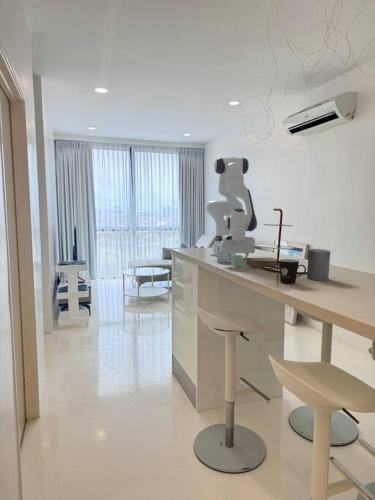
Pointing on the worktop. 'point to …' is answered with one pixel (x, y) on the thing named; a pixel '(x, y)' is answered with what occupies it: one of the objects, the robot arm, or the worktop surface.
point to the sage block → (237, 260)
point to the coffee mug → (289, 270)
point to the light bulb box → (223, 256)
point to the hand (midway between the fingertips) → (237, 260)
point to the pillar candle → (318, 264)
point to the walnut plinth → (261, 262)
